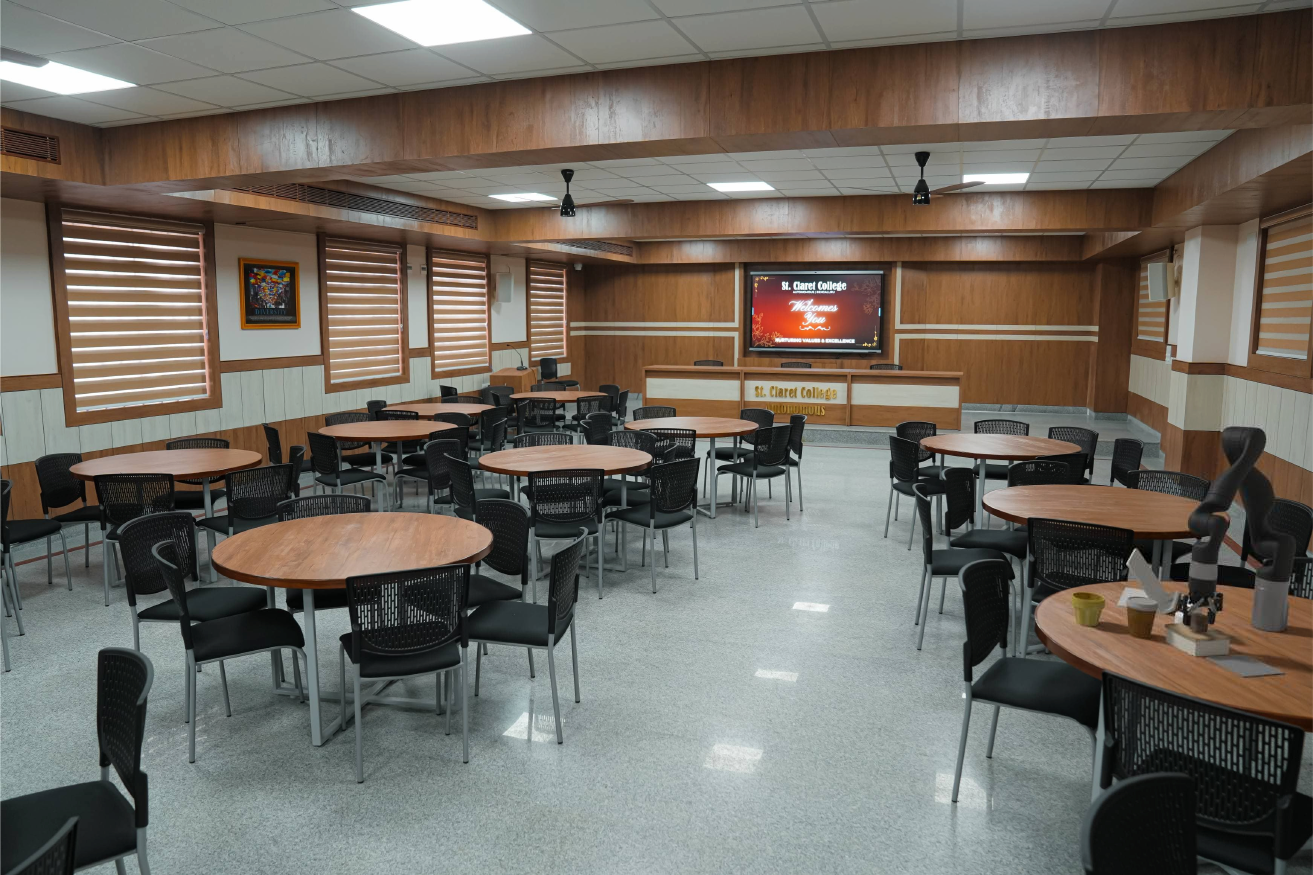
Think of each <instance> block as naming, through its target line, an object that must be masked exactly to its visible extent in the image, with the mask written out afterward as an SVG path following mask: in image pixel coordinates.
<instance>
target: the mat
mask: <svg viewBox="0 0 1313 875" xmlns="http://www.w3.org/2000/svg"><path fill="white" fill-rule="evenodd" d="M1205 659H1206V660H1207V661H1209V662H1211V663H1213V664H1215V665H1217V666H1219V667H1221V668H1223V669H1225V670H1227V669H1228V671H1230V672H1231V671H1232V673H1233V672H1234V673H1233V674H1235V673H1236V674H1235V675H1237V674H1238V676H1239V675H1240V676H1239V677H1241V676H1242V677H1241V678H1252V677H1253V678H1254V677H1264V676H1265V675H1267V676H1275V675H1274V674H1280V675H1285V672H1284V671H1282V670H1279V669H1278V668H1275V667H1273V666H1271V665H1269V664H1266V663H1264V662H1263V661H1260V660H1258V659H1256V658H1254V657H1251V656H1249V655H1248V654H1235V655H1233V654H1232V655H1222V656H1221V655H1220V656H1219V655H1218V656H1205Z"/></svg>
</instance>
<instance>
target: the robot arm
mask: <svg viewBox="0 0 1313 875" xmlns="http://www.w3.org/2000/svg"><path fill="white" fill-rule="evenodd" d="M1220 436H1221V437H1220V443H1221V447H1222V451H1223V453H1224V456H1225V458H1226V460H1227V463H1228V464H1229V466H1230V467H1229V468H1227V469H1225V470H1224V471H1223V472H1222V473H1220V474H1219V475H1218V476H1217V477H1215V479H1214V480H1213V482H1212V483H1211V485H1210V486H1209V490H1208V491H1207V494H1206V496H1205V498H1204V499H1203V500H1202V501H1201V502H1200V503H1199V505H1198V506H1197V507H1196V508H1195V509H1194V510H1193V511H1192V512H1191V514H1190V516H1189V517H1188V518H1187V528H1188V530H1189V531H1190V532H1191V533H1193V534H1196V535H1201V536H1206V537H1209V539H1208V541H1196V542H1194V543H1193V544H1192V549H1191V558H1190V564H1189V571H1188V580H1187V581H1188V582H1187V588H1188V590H1189V592H1188V593H1187V594H1186V593H1181V592H1180V594H1179V598H1178V601H1177V606H1176V608H1177V609H1176V612H1181V613H1183V624H1184V625H1186V626H1191V614H1192V612H1193V611H1194V610H1196V609H1197V608H1198V607H1203V608H1206V609H1207V614H1206V616H1209V620H1208V625H1209V626H1214V624H1215V622H1216V615H1217V613H1218V612H1222V611H1223V609H1224V608H1223V607H1224V594H1223V593H1222V592H1220V591H1218V590H1217V581H1218V570H1219V567H1218V565H1219V564H1218V563H1219V552H1220V548H1221V546H1222V543H1223V541H1224V538H1225V536H1226V535H1227V533H1228V530H1229V523H1228V520H1227V518H1226V517H1225V516H1223V515H1220V514H1215V513H1225V512H1227V511H1230V510H1229V509H1230V508H1231V505H1232V504H1233V501H1234V499H1235V497H1236V495H1237V492H1238V493H1239V497H1240V500H1241V502H1242V506H1243V509H1244V512H1245V515H1246V516H1245V517H1246V519H1247V523H1248V528H1249V534H1250V540H1251V545H1252V547H1253V548H1252V549H1253V551H1254V552H1255V553H1256V554H1257V555H1259V556H1261V557H1264V558H1267V559H1272V560H1273V562H1272V565H1269V566H1260V567H1258V568H1256V571H1255V581H1254V591H1253V601H1252V610H1251V620H1250V625H1251V626H1252V627H1253V628H1255V629H1258V630H1262V631H1267V632H1278V633H1279V632H1283V631H1285V630H1287V629H1288V622H1289V621H1288V620H1289V610H1290V601H1288V597H1289V596H1288V595H1289V586H1290V580H1291V579H1290V578H1291V575H1292V572H1293V568H1294V562H1295V556H1296V550H1297V542H1296V539H1295V537H1294V536H1293V535H1291V534H1290V533H1289V534H1288V533H1284V532H1280V531H1274V530H1272V529H1271V528H1270V527H1269V524H1268V516H1269V515H1270V514H1271V512H1272V511H1273V509H1274V508H1275V505H1276V501H1277V498H1276V494H1275V492H1274V488H1273V486H1272V483H1271V481H1270V479H1269V478H1268V477H1267V476H1266V475H1265V474H1264V473H1263V472H1262V471H1261V470H1260V469H1258V468H1257V467H1256V466H1255V464H1256V463H1257V461H1258V460H1259V459H1260V457H1261V456H1262V454H1263V452H1264V450H1265V448H1266V444H1267V434H1266V432H1265V431H1264V430H1263V428H1259V427H1253V426H1239V425H1238V426H1235V425H1233V426H1232V425H1231V426H1227V427H1225V428H1224V429H1223V430H1222V432H1221V434H1220ZM1191 603H1192V605H1193V606H1192V605H1191ZM1182 606H1183V607H1182ZM1189 608H1190V609H1189ZM1188 609H1189V610H1188ZM1187 610H1188V611H1187Z"/></svg>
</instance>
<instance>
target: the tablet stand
mask: <svg viewBox="0 0 1313 875" xmlns="http://www.w3.org/2000/svg"><path fill="white" fill-rule="evenodd" d="M1125 565H1126V566H1127V567H1128V569H1129V571H1130V573H1131V574H1132V575H1133V577H1134V578H1135V580H1136V581H1137V582H1138V584H1139V586H1140V588H1141V589H1139V588H1133V587H1127V586H1126V587H1125V588H1124V590H1123V592H1122V593H1121V596H1120V598H1119V600H1118V602H1117V604H1116V606H1117V607H1118V606H1119V607H1118V608H1124V607H1126V608H1125V609H1127V605H1126V601H1127V598H1128V597H1132V596H1138V597H1146V598H1150V599H1153V600H1155V601H1156V602H1157V605H1158V606H1159V607H1158V608H1157V610H1156V614H1159V613H1160V614H1159V615H1166V614H1169V613H1171V612H1174V611H1175V610H1176V608H1177V605H1178V600H1179V594H1180V593H1181V592H1180V590H1175V591H1172V592H1170V593H1168V592H1167V591H1166V589H1165V588H1164V587H1163V585H1162V583H1161V582H1160V580H1159V579H1158V577H1157V576H1156V575H1155V573H1154V571H1153V570H1152V568H1151V567H1150V565H1149V564H1148V563H1147V561H1146V560H1145V558H1144V556H1143V555H1142V553H1141V552H1140V551H1139V549H1138V548H1137V547H1136V548H1134V549H1133V551H1132V553H1131V554H1130V556H1129V558H1128V560H1127V562H1126V564H1125Z"/></svg>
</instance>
